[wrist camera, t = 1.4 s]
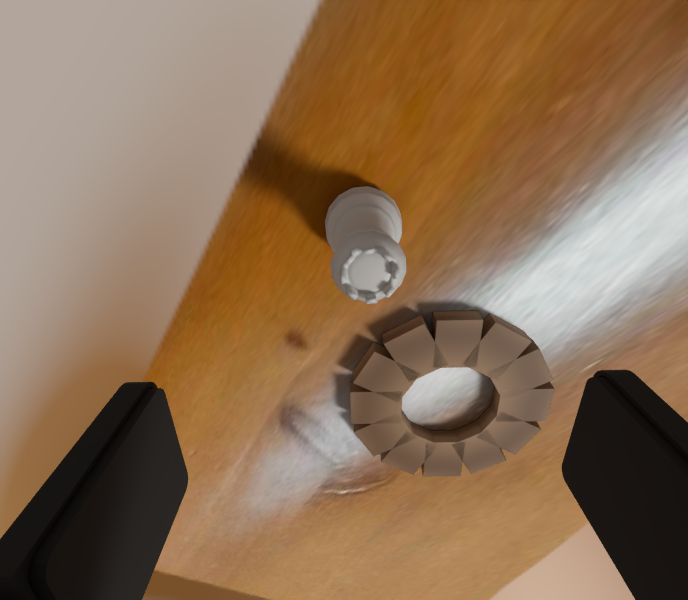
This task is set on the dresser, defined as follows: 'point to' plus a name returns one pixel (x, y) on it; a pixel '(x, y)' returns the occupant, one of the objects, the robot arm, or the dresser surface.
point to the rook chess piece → (365, 244)
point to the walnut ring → (440, 352)
